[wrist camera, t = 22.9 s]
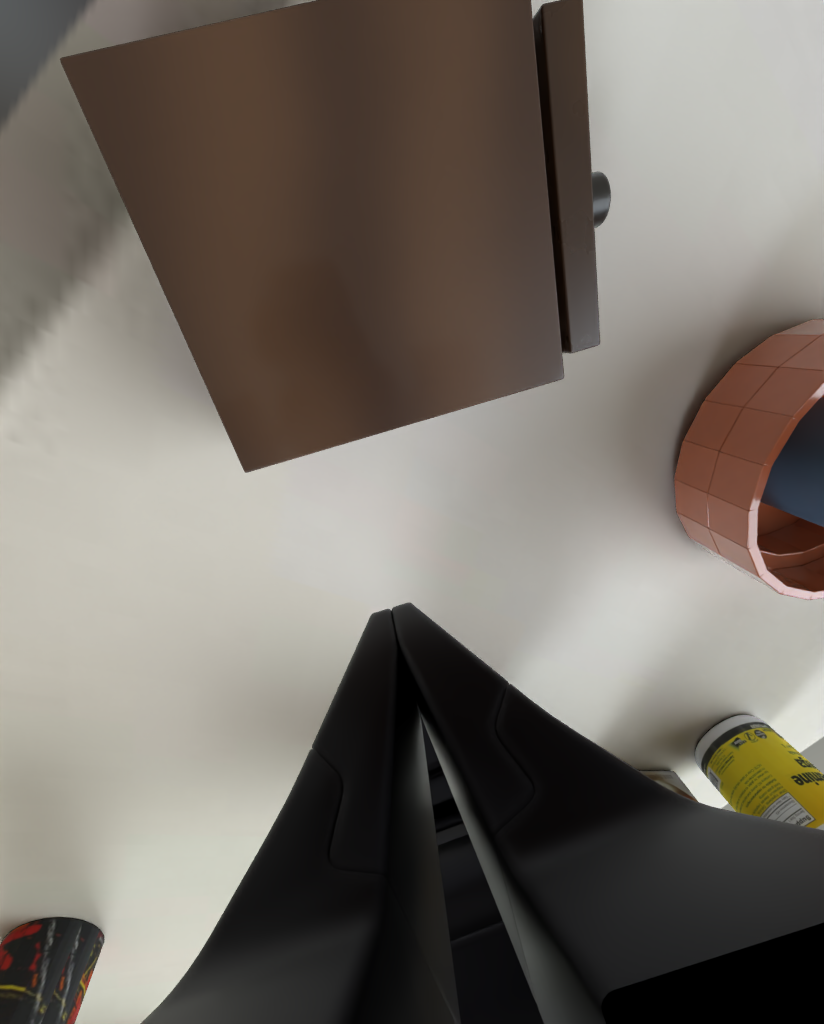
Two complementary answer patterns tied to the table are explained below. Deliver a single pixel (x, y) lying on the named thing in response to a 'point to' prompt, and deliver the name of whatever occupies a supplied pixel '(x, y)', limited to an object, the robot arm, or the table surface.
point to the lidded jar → (800, 470)
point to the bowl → (755, 464)
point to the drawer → (570, 169)
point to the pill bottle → (761, 772)
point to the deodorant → (47, 970)
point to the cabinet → (340, 210)
